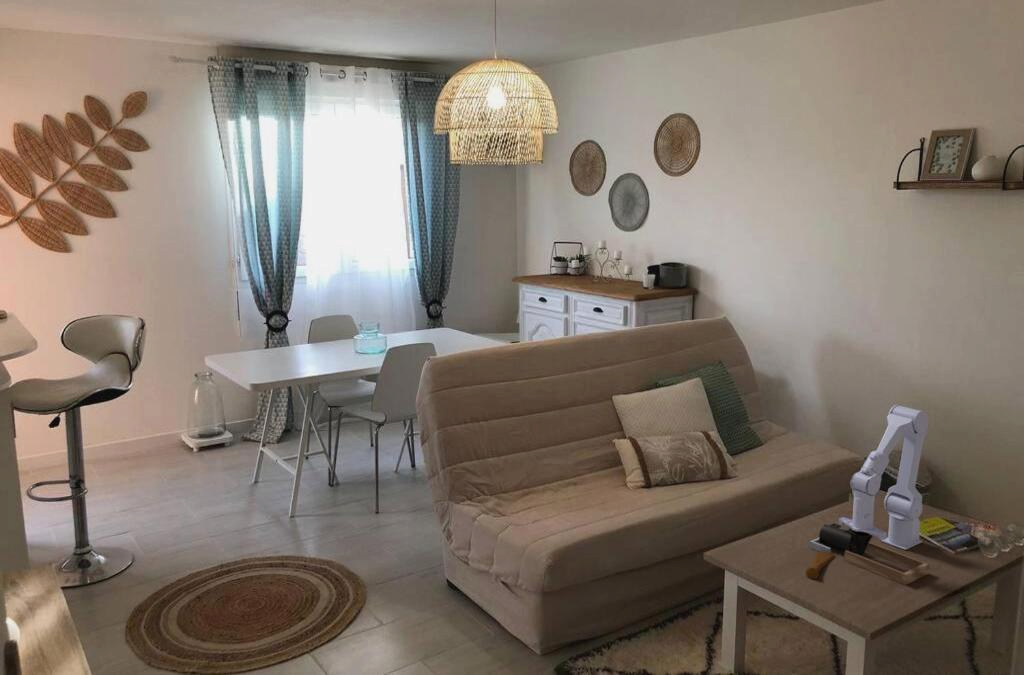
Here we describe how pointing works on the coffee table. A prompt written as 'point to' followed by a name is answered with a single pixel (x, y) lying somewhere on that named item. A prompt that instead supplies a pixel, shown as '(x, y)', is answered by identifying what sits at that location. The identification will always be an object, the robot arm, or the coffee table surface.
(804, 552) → the coffee table surface
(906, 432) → the robot arm
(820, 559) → the primitive tool
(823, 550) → the frame
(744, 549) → the coffee table surface
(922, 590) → the coffee table surface
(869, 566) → the cubby
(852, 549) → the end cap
